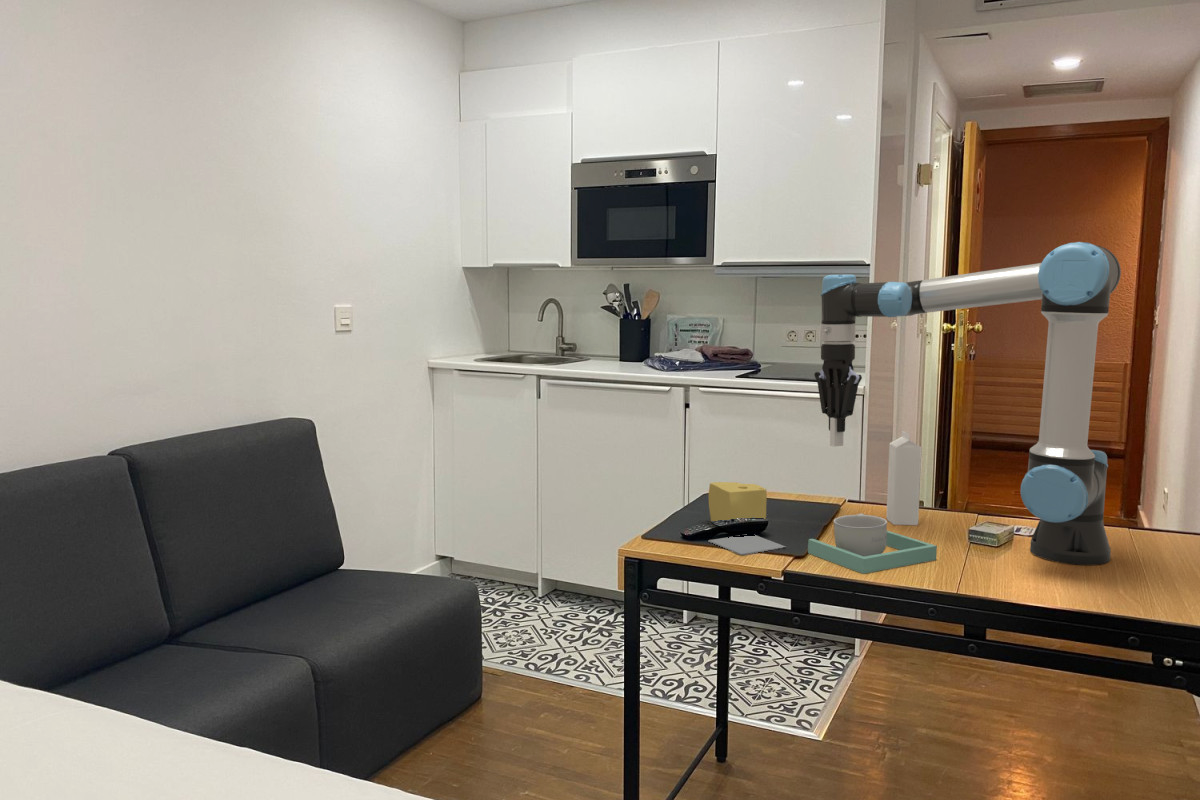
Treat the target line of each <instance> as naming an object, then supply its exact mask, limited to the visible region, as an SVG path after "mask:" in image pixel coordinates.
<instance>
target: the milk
mask: <svg viewBox="0 0 1200 800" xmlns="http://www.w3.org/2000/svg"><path fill="white" fill-rule="evenodd" d="M910 435H911V434H910V433H909V432H907V431H905V430H902V431H901V436H900V437H898V438H897V439H894V440H893V441H890V443H889V447H888V450H889V451H888V474H887V475H888V476H887V494H886V495H887V497H886V520H887V522H890V523H891V525H893V526H919V515H920V514H919V512H920V492H921V491H920V490H921V469H922V468H921V466H922V449H923V448H922V446H920V445H918V444H916V443H915V442H914V441H911V437H910Z"/></svg>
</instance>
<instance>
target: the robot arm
mask: <svg viewBox="0 0 1200 800" xmlns="http://www.w3.org/2000/svg"><path fill="white" fill-rule="evenodd" d="M1121 269H1122V268H1121V265H1120V262H1119V261H1118V258H1117V256H1116V255H1115V254H1114V253H1113V252H1112V251H1110V250H1109V249H1107V248H1105V247H1103V246H1101V245H1096V244H1093V243H1090V242H1083V241H1077V242H1076V241H1075V242H1068V243H1067V244H1066V243H1065V244H1062V245H1060V246H1058V247H1056V248H1054V249H1053V250H1051V251H1050V252H1049V253H1048V254H1046V256H1045V257H1044V258H1043V260H1042V261H1041V262H1039V263H1033V264H1027V265H1026V264H1025V265H1019V266H1011V267H1005V268H999V269H998V268H997V269H990V270H983V271H977V272H969V273H963V274H962V273H961V274H956V275H950V276H943V277H934V278H927V279H922V280H913V281H908V282H907V281H905V282H901V281H899V282H898V281H884V282H864V283H863V282H857V276H856V275H855V274H829V275H826V276H823V278H822V283H821V294H820V297H821V328H820V329H821V330H820V331H821V333H820V335H821V336H820V338H821V339H820V341H821V342H823V343H822V344H820V359H821V360H822V361H823V363H822V366H821V367H822V368H821V369H820V370H819V371H816V372H814V374H813V375H814V378H815V381H816V383H817V387H818V395H819V402H820V407H821V413H822V414H825V415H827V417H828V430H829V446H830V447H834V448H835V447H843V446H844V432H845V431H846V418H848V417H849V416H853V413H854V409H855V404H856V398H857V394H858V393H857V392H858V389H859V385H860V382H861V381H862V379H863V378H862V377H863V376H862V375H861V374H857V373H856V372H855V371H854V370H855V369H854V366H853V361H854V360H855V358H856V345H855V344H854V343H853V342H855V341H856V318H857V317H858V318H860V317H861V318H862V317H867V318H868V317H873V318H880V317H881V318H897V317H910V316H914V315H920V314H926V313H936V312H944V311H952V310H960V309H961V310H963V309H969V308H978V307H988V306H996V305H1004V304H1005V305H1006V304H1014V303H1022V302H1029V301H1038V300H1039V301H1040V300H1041V309H1040V313H1041V314H1042V316H1044V317H1045V319H1046V320H1047V321H1048V328H1047V341H1046V349H1045V350H1046V351H1045V363H1044V365H1045V366H1044V374H1043V388H1042V398H1041V399H1042V400H1041V411H1040V421H1039V422H1040V423H1039V433H1038V441H1037V443H1036V444H1034V445H1033V446H1031V447H1030V448H1029V452H1028V453H1029V454H1028V466H1027V472H1026V473H1025V475H1024V477H1023V479H1022V481H1021V484H1020V497H1021V500H1022V503H1023V505H1024V507H1026V510H1027V511H1029V513H1030V514H1032V515H1033V516H1035V517H1036V518H1038V519H1039V521H1038V523H1037V525H1036V528H1035V530H1034V532H1033V535H1032V537H1031V539H1030V548H1029V551H1030V553H1032V554H1033V555H1034V556H1036V557H1039V558H1041V559H1045V560H1048V561H1052V562H1057V563H1062V564H1068V565H1069V564H1071V565H1078V566H1079V565H1081V566H1096V565H1103V564H1108V563H1109V562H1110V561H1111V553H1112V552H1111V546H1110V544H1109V540H1108V536H1107V533H1106V532H1107V531H1106V529H1105V524H1104V515H1105V513H1104V512H1105V499H1106V489H1107V488H1106V486H1107V474H1108V473H1107V472H1108V468H1109V464H1108V456H1107V454H1106V452H1105V451H1102V450H1098V449H1097V450H1096V449H1090V448H1089V446H1088V440H1089V431H1090V429H1089V428H1090V419H1091V418H1090V417H1091V407H1092V398H1093V396H1092V395H1093V388H1094V387H1093V385H1094V375H1095V365H1096V364H1095V363H1096V353H1097V342H1098V332H1099V331H1098V330H1099V329H1098V328H1099V323H1100V322H1101V321H1103V320H1104V319H1105V318H1106V317H1108V315H1109V312H1110V311H1109V310H1110V301H1111V300H1110V299H1111V294H1112V293H1113V292H1114V291H1115V290H1116V289H1117V286H1118V284H1119V283H1120V280H1121V273H1122V270H1121Z"/></svg>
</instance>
